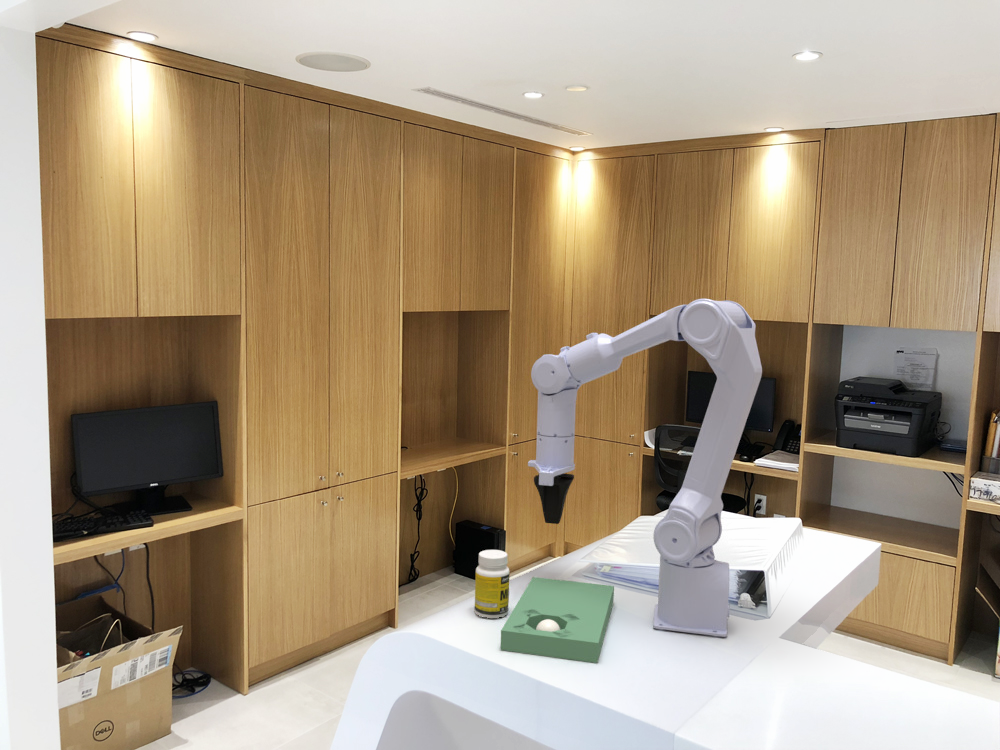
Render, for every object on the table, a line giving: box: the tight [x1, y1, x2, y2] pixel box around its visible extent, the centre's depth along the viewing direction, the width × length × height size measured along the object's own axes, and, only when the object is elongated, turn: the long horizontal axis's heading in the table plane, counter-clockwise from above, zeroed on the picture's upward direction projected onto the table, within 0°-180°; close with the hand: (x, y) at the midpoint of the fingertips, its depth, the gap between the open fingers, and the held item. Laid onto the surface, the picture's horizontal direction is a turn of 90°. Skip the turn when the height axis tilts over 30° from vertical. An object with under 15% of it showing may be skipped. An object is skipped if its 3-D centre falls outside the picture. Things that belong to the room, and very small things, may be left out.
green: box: [500, 576, 615, 664], centre depth 103 cm, size 12×20×2 cm, turn 166°
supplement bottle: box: [474, 549, 511, 619], centre depth 106 cm, size 5×5×8 cm
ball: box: [536, 619, 560, 632], centre depth 97 cm, size 3×3×3 cm
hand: (552, 522), depth 117 cm, fingers closed
